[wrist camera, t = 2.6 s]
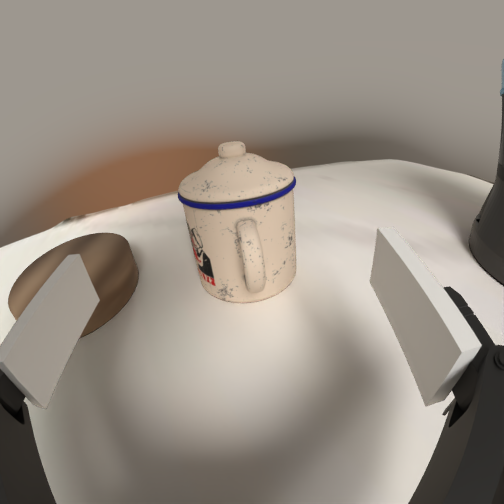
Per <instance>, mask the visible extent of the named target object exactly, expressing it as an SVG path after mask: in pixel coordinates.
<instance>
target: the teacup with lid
mask: <svg viewBox="0 0 504 504" xmlns="http://www.w3.org/2000/svg"><path fill="white" fill-rule="evenodd" d="M245 151H246V150H245V145H244V144H243V143H242V142H239V141H235V142H228V143H224V144H221V145H220V146H219V148H218V152H219V157H217V158H214V159H212V160H210V161H209V162H208V163H206V164H205V165H204V166H203V167H202V168H201V169H200V170H198V171H196V172H194V173H192V174H190V175H189V176H187V177H186V178H185V179H184V180H183V181H182V182H181V184H180V186H179V192H178V198H179V200H180V201H181V202H182V203H183V207H184V211H185V216H186V221H187V225H188V229H189V234H190V238H191V242H192V247H193V251H194V255H195V259H196V263H197V267H198V271H199V275H200V279H201V283H202V285H203V287H204V288H205V289H206V290H207V292H209V293H210V294H211V295H213V296H214V297H216V298H219V299H221V300H224V301H228V302H235V303H249V302H256V301H261V300H264V299H267V298H270V297H272V296H275V295H276V294H278V293H280V292H281V291H283V290H284V289H285V288H286V287H287V286H288V285H289V284H290V283H291V282H292V280H293V278H294V276H295V273H296V244H295V217H294V195H293V188H294V187H295V185H296V179H295V177H294V174H293V172H292V170H291V169H290V168H289V167H287V166H286V165H284V164H281V163H278V162H274V161H268V160H266V159H264V158H262V157H260V156H258V155H255V154H251V153H245Z"/></svg>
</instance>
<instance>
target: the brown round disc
mask: <svg viewBox="0 0 504 504" xmlns="http://www.w3.org/2000/svg"><path fill="white" fill-rule="evenodd" d="M73 254H80V256H81V259H82V261H83V263H84V266H85V268H86V271H87V273H88V275H89V277H90V280H91V282H92V284H93V286H94V289H95V291H96V293H97V295H98V297H99V299H100V301H99V303H98V304H97V306H96V308H95V310H94V311H93V313H92V315H91V317H90V319H89V321H88V322H87V324H86V326H85V328H84V330H83V332H82V334H81V336H80V337H79V338H81V337H83V336H85V335H87V334H89V333H91V332H93V331H94V330H96V329H98V328H99V327H101V326H102V325H104V324H105V323H106V322H108V321H109V320H110V319H111V318H113V317H114V316H115V315H116V314H117V313H118V312H119V311H120V310H121V309H122V308H123V307H124V305H125V304H126V303H127V302H128V300H129V299H130V298H131V296H132V294H133V292H134V291H135V288H136V286H137V282H138V269H137V266H136V263H135V260H134V257H133V255H132V252H131V249H130V246H129V243H128V241H127V240H126V239H125V238H124V237H122V236H121V235H118V234H114V233H96V234H90V235H85V236H82V237H78V238H75V239H73V240H70V241H67V242H65V243H63V244H61V245H59V246H57V247H55V248H53V249H51V250H50V251H48V252H46V253H45V254H43V255H42V256H41V257H39V258H38V259H36V260H35V261H34V262H33V263H32V264H31V265H29V266H28V267H27V268H26V269H25V270H24V271H23V272H22V274H21V275H20V276H19V277H18V279H17V280H16V282H15V283H14V285H13V287H12V289H11V291H10V294H9V298H8V305H9V309H10V311H11V313H12V314H13V316H14V317H15V319H16V320H18V318H19V317H20V315H21V314H22V313H23V311H24V310H25V308H26V307H27V306H28V304H29V303H30V302H31V300H32V299H33V298H34V296H35V295H36V294H37V292H38V291H39V290H40V288H41V287H42V286H43V285H44V283H45V282H46V281H47V280H48V278H49V277H50V276H51V275H52V273H53V272H54V271H55V270H56V269H57V267H58V266H59V265H60V264H61V263H62V261H63V260H64V259H65V258H66V257H67V256H68V255H73Z"/></svg>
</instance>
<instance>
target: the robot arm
mask: <svg viewBox="0 0 504 504" xmlns="http://www.w3.org/2000/svg"><path fill="white" fill-rule="evenodd" d="M500 96H502V129H501V141H500V151H499V159H498V168H497V175H496V180H495V183H494V185H493V187H492V189H491V191H490V193H489V195H488V197H487V199H486V200H485V202H484V204H483V206H482V209H481V211H480V213H479V214H478V215H477V217H476V218H475V220H474V223H473V226H472V230H471V234H470V238H469V245H470V249H471V251H472V253H473V255H474V256H475V258H476V259H477V261H478V262H479V263H480V264H481V265H482V267H483V268H484V269H485V270H486V271H487V272H489V273H490V274H491V275H492V276H493V277H494V278H496V279H497V280H498V281H500V282H501V283H502V284H504V59H503V61H502V89H501V90H500ZM370 283H371V285H372V287H373V289H374V291H375V293H376V295H377V297H378V299H379V301H380V303H381V305H382V307H383V309H384V311H385V313H386V315H387V317H388V320H389V322H390V324H391V326H392V328H393V330H394V332H395V334H396V337H397V339H398V341H399V343H400V345H401V348H402V350H403V352H404V355H405V357H406V359H407V361H408V364H409V366H410V369H411V371H412V373H413V376H414V378H415V381H416V383H417V386H418V388H419V391H420V393H421V396H422V399H423V401H424V404H425V407H426V406H429V405H432V404H435V403H438V402H440V401H443V400H445V399H446V397H447V396H448V395H449V393H450V392H451V391H453V394H454V396H455V398H454V399H453V401H452V402H451V403H450V404H449V406H448V407H447V408H446V409H445V411H444V412H443V414H442V415H444V416H445V415H446V414H447V412H448V411H449V413H448V416H447V419H446V422H445V425H444V427H443V430H442V433H441V435H440V438H439V441H438V443H437V446H436V448H435V450H434V453H433V455H432V457H431V460H430V462H429V464H428V466H427V468H426V471H425V473H424V475H423V477H422V479H421V481H420V483H419V485H418V487H417V489H416V490H415V492H414V494H413V496H412V498H411V500H410V501H409V503H408V504H504V346H502V345H495V344H494V343H493V341H492V339H491V338H490V336H489V335H488V333H487V332H486V330H485V329H484V327H483V326H482V324H481V323H480V321H479V320H478V318H477V317H476V315H474V314H473V311H472V310H471V308H470V307H468V304H467V303H466V301H465V300H464V299H463V297H462V296H461V295H460V294H459V293H458V292H456V291H455V290H454V289H452V288H451V287H444V288H443V287H442V286H441V284H440V283H439V282H438V280H437V279H436V278H435V276H434V275H433V274H432V272H431V271H430V270H429V269H428V267H427V266H426V265H425V264H424V262H423V261H422V260H421V259H420V257H419V256H418V255H417V254H416V252H415V251H414V250H413V249H412V248H411V246H410V245H409V244H408V243H407V242H406V240H405V239H404V238H403V237H402V236H401V235H400V234H399V232H398V231H397V230H396V229H395V228H394V227H384V228H378V229H377V237H376V245H375V252H374V259H373V265H372V271H371V277H370ZM99 301H100V299H99V297H98V295H97V293H96V291H95V289H94V286H93V284H92V282H91V280H90V277H89V275H88V273H87V271H86V268H85V266H84V263H83V261H82V259H81V256H80V254H73V255H68V256H67V257H66V258H65V259H64V260H63V261H62V263H61V264H60V265H59V266H58V267H57V269H56V270H55V271H54V272H53V273H52V275H51V276H50V277H49V278H48V280H47V281H46V282H45V283H44V285H43V286H42V287H41V288H40V290H39V291H38V292H37V294H36V295H35V296H34V298H33V299H32V300H31V302H30V303H29V304H28V306H27V307H26V308H25V310H24V311H23V313H22V314H21V315H20V317H19V318H18V320H17V321H16V323H15V324H14V326H13V327H12V329H11V330H10V332H9V333H8V335H7V336H6V338H5V339H4V341H3V342H2V344H1V345H0V504H56V502H55V499H54V497H53V494H52V492H51V489H50V486H49V484H48V481H47V478H46V475H45V472H44V469H43V466H42V463H41V460H40V456H39V453H38V449H37V446H36V442H35V438H34V434H33V430H32V425H31V421H30V416H29V411H28V407H27V404H26V403H25V402H24V398H25V397H26V398H27V399H28V400H29V401H30V402H31V403H32V404H33V405H35V406H38V407H41V408H44V409H47V406H48V404H49V402H50V399H51V397H52V395H53V392H54V390H55V388H56V385H57V383H58V381H59V379H60V376H61V374H62V372H63V370H64V368H65V366H66V364H67V362H68V359H69V357H70V355H71V353H72V351H73V349H74V347H75V345H76V343H77V341H78V339H79V337H80V336H81V334H82V332H83V330H84V328H85V326H86V324H87V322H88V321H89V319H90V317H91V315H92V313H93V311H94V310H95V308H96V306H97V304H98V303H99Z"/></svg>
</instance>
